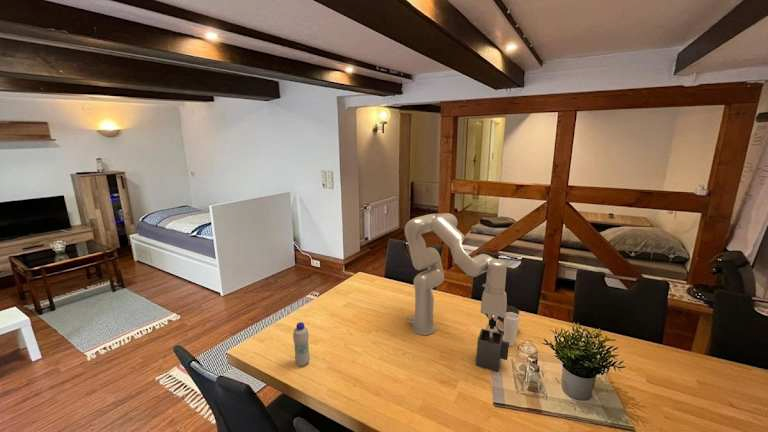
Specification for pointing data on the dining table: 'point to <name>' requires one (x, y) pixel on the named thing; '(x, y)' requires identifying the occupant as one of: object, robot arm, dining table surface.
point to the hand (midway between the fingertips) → (492, 327)
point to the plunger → (491, 331)
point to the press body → (491, 350)
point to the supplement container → (501, 321)
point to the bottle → (301, 344)
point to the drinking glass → (511, 327)
